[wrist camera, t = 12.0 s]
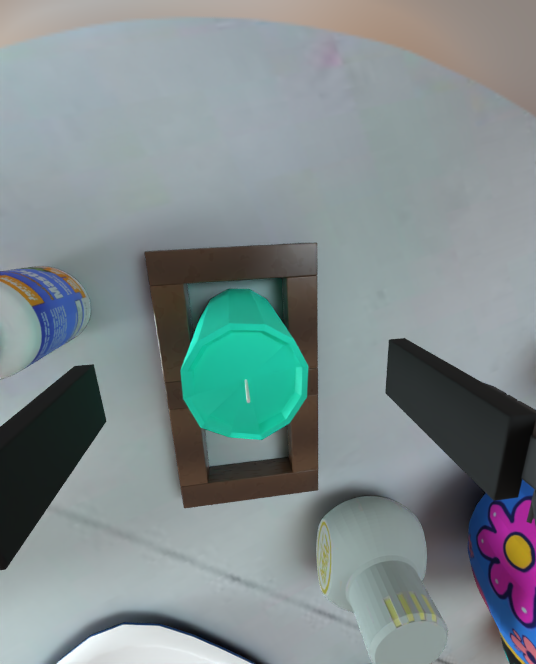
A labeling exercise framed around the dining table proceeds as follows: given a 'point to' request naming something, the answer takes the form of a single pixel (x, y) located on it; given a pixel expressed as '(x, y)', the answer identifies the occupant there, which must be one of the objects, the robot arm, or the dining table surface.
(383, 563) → the air freshener
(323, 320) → the dining table surface
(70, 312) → the pill bottle
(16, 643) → the dining table surface
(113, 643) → the plate
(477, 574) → the ceramic pot
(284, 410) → the candle
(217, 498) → the holder
